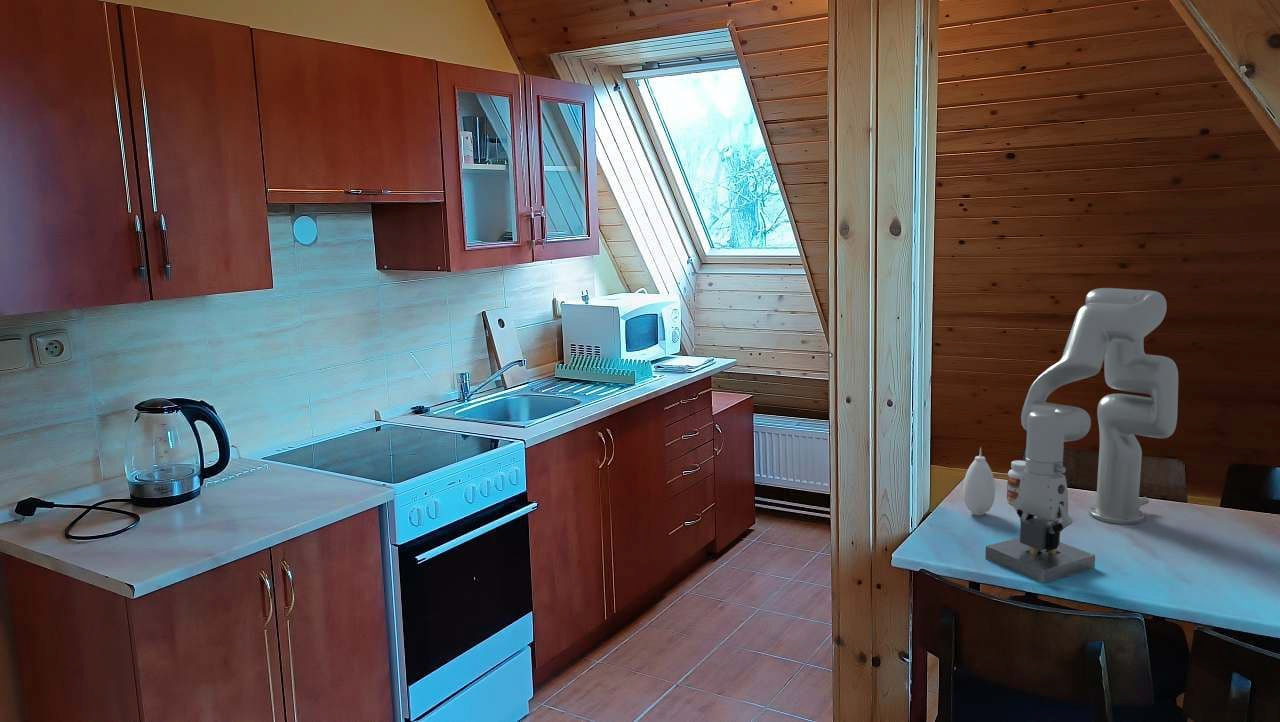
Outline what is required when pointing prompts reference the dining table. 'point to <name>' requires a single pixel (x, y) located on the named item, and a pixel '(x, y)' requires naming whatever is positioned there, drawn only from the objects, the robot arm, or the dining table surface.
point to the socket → (1040, 560)
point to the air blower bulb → (979, 486)
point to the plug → (1035, 535)
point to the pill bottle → (1014, 480)
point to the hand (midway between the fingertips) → (1039, 543)
